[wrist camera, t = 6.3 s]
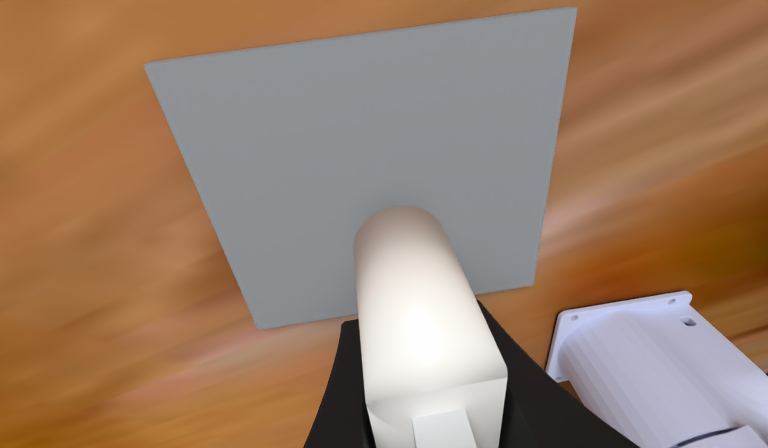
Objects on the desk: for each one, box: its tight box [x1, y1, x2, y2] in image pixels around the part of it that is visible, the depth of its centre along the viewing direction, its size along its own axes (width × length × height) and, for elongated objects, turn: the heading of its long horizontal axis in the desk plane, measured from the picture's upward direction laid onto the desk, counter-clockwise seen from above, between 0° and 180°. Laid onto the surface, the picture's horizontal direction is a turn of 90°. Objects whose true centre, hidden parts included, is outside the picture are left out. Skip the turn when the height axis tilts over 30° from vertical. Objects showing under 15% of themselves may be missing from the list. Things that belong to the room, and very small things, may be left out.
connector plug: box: [353, 206, 508, 448], centre depth 11 cm, size 3×8×6 cm, turn 6°
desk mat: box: [143, 7, 577, 330], centre depth 19 cm, size 17×15×1 cm
